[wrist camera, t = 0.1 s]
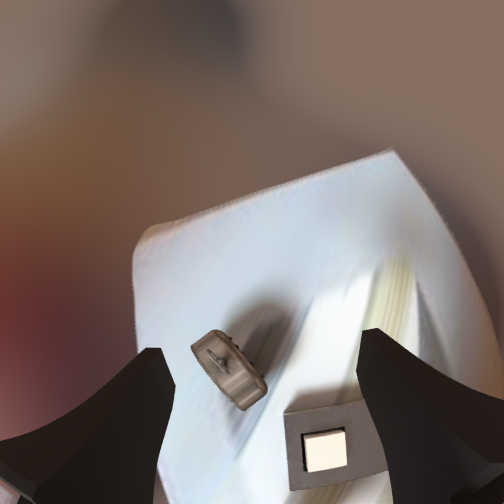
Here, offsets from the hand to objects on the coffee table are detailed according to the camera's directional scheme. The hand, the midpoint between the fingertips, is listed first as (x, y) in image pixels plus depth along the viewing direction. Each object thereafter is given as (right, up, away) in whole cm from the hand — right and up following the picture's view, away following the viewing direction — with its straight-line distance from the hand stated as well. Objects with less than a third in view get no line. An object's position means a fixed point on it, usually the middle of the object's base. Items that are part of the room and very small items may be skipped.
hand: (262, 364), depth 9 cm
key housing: (+15, -23, +22) cm, 36 cm away
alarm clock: (-2, -14, +29) cm, 33 cm away
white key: (+9, -23, +21) cm, 32 cm away
